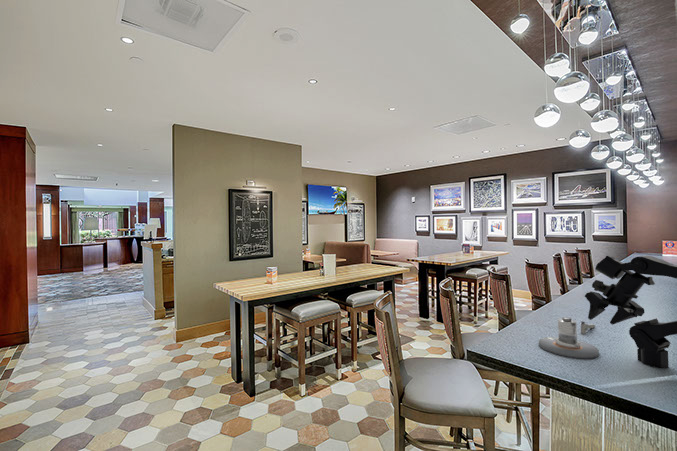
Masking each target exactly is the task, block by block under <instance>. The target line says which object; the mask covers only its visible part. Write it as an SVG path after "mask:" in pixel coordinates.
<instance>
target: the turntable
mask: <svg viewBox="0 0 677 451" xmlns="http://www.w3.org/2000/svg"><path fill="white" fill-rule="evenodd" d="M556 338H558V336H547V337H542V338H540V339H539V340H538V345H539V347H540V348H541V349H543V350H545V351H547V352H549V353H551V354H555V355H559V356H563V357H568V358H575V359H594V358H595V359H596V358H597V357H599V356H600V350H599V349H598V347H597V346H595V345H592V344H591V343H588V342H585V341H582V340H578V339H577V341H579V342H580V343H581V348H580V349H568V348H563V347H560V346H558V345H556V344H555V339H556Z"/></svg>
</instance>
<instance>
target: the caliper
mask: <svg viewBox="0 0 677 451" xmlns="http://www.w3.org/2000/svg"><path fill="white" fill-rule="evenodd" d="M595 327H596V326H595V324H592V323H589V324H587V323H586V321H581V322H580V335H585V334H586V333H587V332H586V331H589V330H588V329H594V328H595Z"/></svg>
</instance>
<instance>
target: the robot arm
mask: <svg viewBox="0 0 677 451" xmlns="http://www.w3.org/2000/svg"><path fill="white" fill-rule="evenodd" d="M594 268H595V271H597V272H599V273H600V274H602V275H604V276H606V277H607V278H610V280H615V279H617V280H618V281H617V282H616V284H615V283H612V284H606V283H604V281H601V280H597V279H595V280H594V281H593V282H592V284H591V288H594V289H593V290H594V291H587V292H586V294H584V297H585V299H586V301H587V302H589V311H588V315H587V318H588V320H589V321H592V320H593V319H595V318H596V317H598V316H599V315H600V314H602V313H603V312H605V311H606V308H608V307H609V306H614V307H617V310H616V312H615V313H614V315H613V316H612V317H611V320H610V322H609V324H611V325H615V324H619V323H621V322H624V321H627V320H630V319H633V318H637V317H642V316H643V315H644V314H645V309H644V307H643V306H641V305H640V304H639V303H637V302H636V301H634V300H633V299H638V298H639V296H638V295H637V293H639V291H640V290H641V289H642V288H643V286H644V285H645V284H646V285H647V286H654V285H656V283H655V281H654V280H653V277H652V276H658V277H659V276H660V277H669V278H673V279H677V264H674V263H670V262H668V261H666V260H664V259H661V258H658V257H655V256H653V255H640V256H635V257H633V258H632V259H631V260H630V261H629V262H622V261H620V260H618V259H616V258H615V257H614V256H611V255H606V256H605V257H604V258H603V259H602V260H600V261H599V262H597V264H596V265H595V267H594ZM645 275H647V276H645ZM648 275H649V276H648ZM599 292H600V293H599ZM601 293H602V294H601ZM633 324H634V325H633V326H631V327H629V330H628V332H629V333H628V334H629V336H630V338H631V339H632V340H633V341H634V343H635V345H636V348H637V350H636V351H637V352H636V353H637V361H639V362H641V364H643V365H645V366H648V367H652V368H657V369H660V370H664V369H669V351H668V350H666V349H669V348H670V345H671V341H669V340H668V339H667V337H668V336H675V335H677V320H673V321H667V322H659V320H658V318H653V319H649V320H642V321H638V322H634V323H633Z"/></svg>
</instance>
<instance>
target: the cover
mask: <svg viewBox="0 0 677 451" xmlns="http://www.w3.org/2000/svg"><path fill="white" fill-rule="evenodd" d="M577 333H578V331H577V321H576V320H573V319H572V318H571V317H567V316H566V317H562V318H558V319H557V334H558V335H557V337H558V338H556V339H555V344H556V345H558V346H560V347H563V348H568V349H580V348H581V343H580V342H579V341H580V340H578V334H577ZM577 340H578V341H577Z"/></svg>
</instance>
